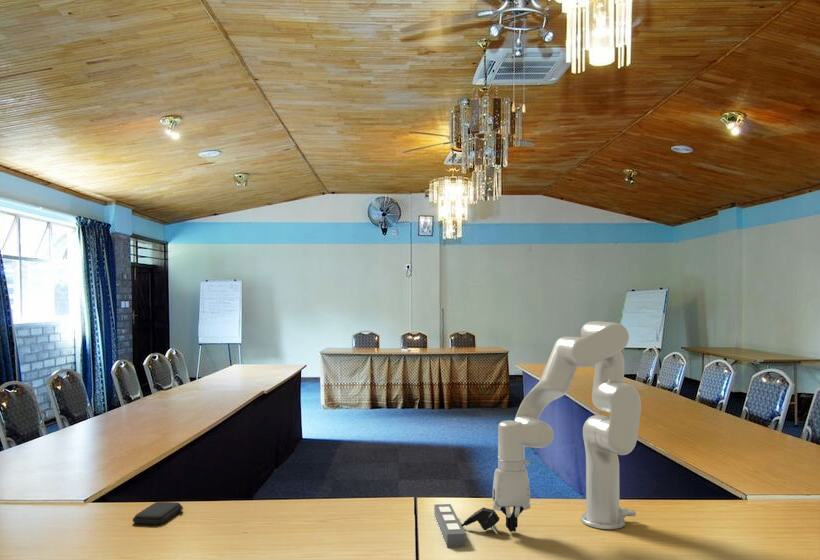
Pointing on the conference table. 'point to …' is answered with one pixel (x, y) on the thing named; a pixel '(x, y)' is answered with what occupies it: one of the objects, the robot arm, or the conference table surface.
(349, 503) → the conference table surface
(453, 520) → the power strip
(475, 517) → the power plug
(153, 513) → the carrying case or bag
